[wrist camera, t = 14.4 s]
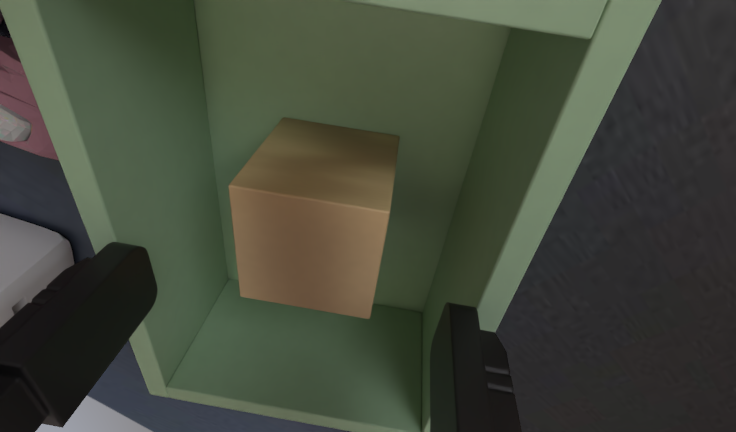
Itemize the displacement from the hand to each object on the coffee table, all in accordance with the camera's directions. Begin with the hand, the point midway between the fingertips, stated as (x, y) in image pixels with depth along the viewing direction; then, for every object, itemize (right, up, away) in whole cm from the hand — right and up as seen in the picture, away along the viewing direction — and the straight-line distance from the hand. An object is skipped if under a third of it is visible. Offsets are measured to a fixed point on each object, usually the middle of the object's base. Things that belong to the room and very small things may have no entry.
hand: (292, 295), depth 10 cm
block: (+1, +4, +5) cm, 6 cm away
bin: (+1, +4, +6) cm, 7 cm away
